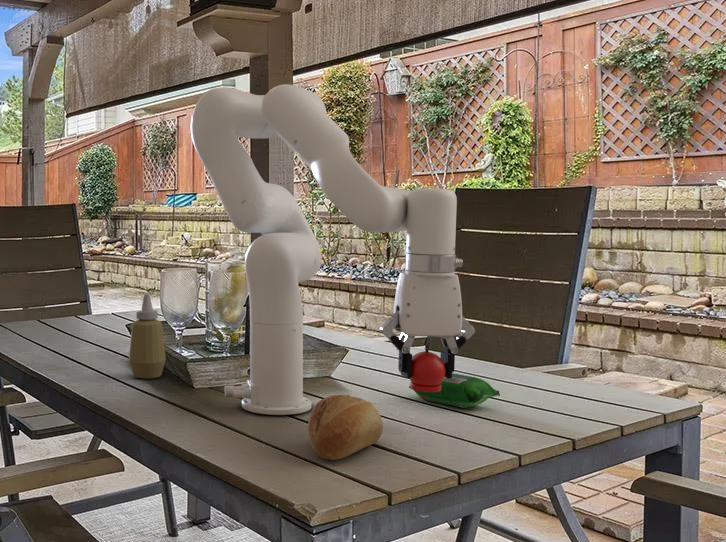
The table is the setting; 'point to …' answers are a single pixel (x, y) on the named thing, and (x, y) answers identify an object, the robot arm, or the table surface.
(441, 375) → the candle
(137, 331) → the squeeze bottle
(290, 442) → the table surface
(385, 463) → the table surface
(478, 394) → the snack package
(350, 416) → the bread roll
